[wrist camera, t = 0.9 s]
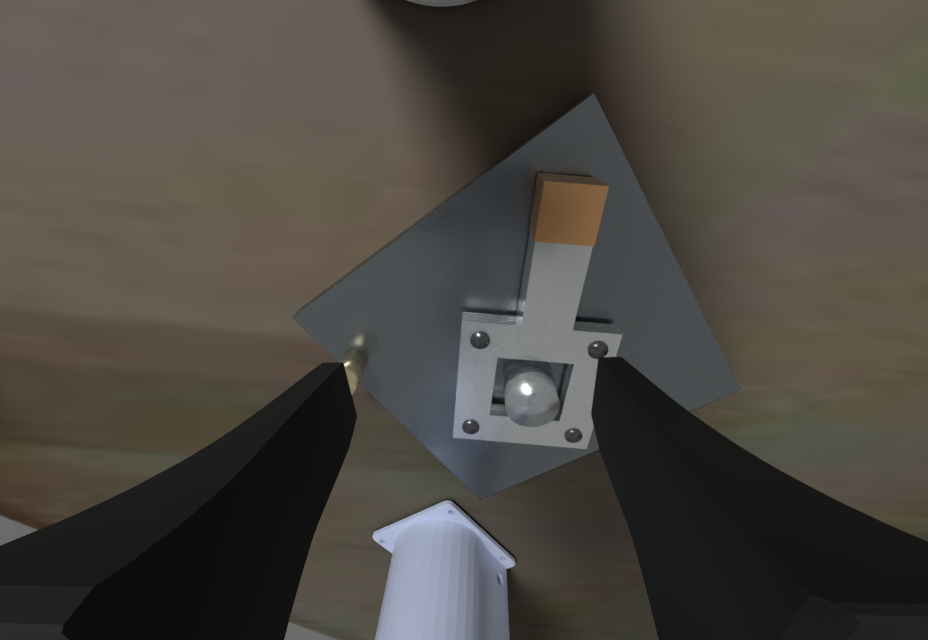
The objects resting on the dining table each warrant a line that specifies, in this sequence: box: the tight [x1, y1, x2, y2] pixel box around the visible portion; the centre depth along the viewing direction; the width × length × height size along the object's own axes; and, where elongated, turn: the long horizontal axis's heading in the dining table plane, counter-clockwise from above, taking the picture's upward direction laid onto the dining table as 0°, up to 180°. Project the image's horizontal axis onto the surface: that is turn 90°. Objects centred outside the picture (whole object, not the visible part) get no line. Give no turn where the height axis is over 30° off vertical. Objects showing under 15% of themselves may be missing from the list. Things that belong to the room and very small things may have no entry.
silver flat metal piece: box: [453, 173, 623, 449], centre depth 20 cm, size 15×8×2 cm, turn 176°
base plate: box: [292, 93, 740, 500], centre depth 21 cm, size 18×18×4 cm
